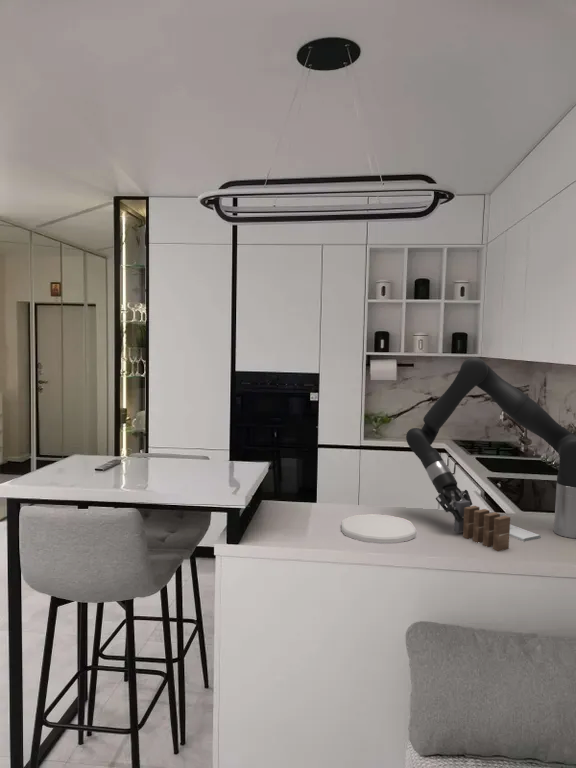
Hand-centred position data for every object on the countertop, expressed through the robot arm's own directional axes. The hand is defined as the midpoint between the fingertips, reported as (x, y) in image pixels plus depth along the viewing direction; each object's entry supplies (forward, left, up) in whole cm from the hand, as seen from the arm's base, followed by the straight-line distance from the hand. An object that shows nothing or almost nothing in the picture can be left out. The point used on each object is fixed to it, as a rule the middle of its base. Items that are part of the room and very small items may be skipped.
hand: (466, 520), depth 189 cm
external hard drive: (-18, +1, -6) cm, 19 cm away
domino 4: (-3, +10, -5) cm, 11 cm away
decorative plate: (+28, -8, -6) cm, 30 cm away
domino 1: (+1, -2, -4) cm, 5 cm away
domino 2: (-1, +2, -5) cm, 6 cm away
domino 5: (-5, +13, -5) cm, 15 cm away
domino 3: (-2, +6, -5) cm, 8 cm away
